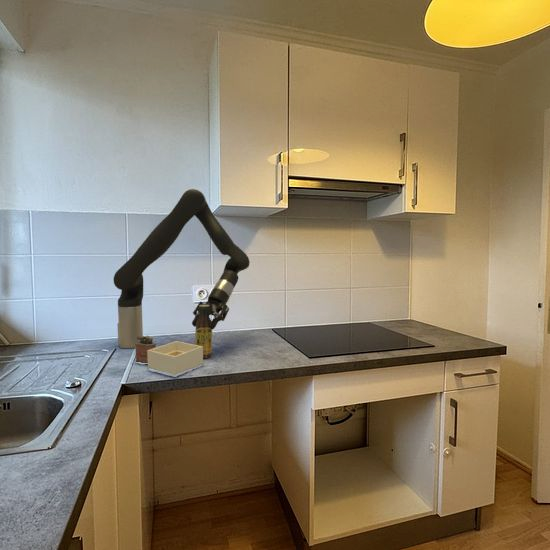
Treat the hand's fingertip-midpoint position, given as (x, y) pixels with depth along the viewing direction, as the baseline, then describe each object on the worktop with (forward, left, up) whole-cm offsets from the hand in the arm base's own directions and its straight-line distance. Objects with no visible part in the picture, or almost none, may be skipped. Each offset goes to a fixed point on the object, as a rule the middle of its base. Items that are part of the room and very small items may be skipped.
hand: (202, 327), depth 126 cm
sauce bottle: (0, +1, -12) cm, 12 cm away
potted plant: (-13, -15, -12) cm, 23 cm away
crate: (0, -13, -12) cm, 18 cm away
